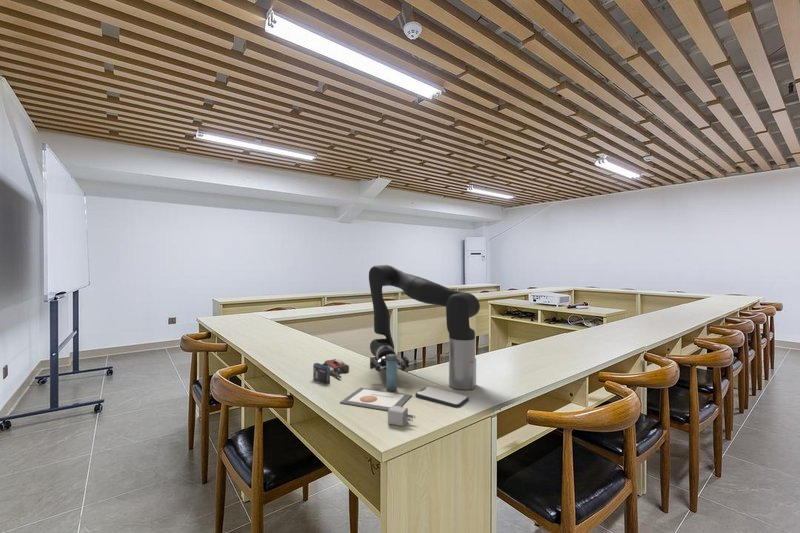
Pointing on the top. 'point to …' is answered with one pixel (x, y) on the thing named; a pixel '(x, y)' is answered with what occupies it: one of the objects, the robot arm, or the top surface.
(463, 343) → the robot arm
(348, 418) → the top surface
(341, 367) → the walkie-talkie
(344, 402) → the grey picture frame
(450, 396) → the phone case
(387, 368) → the bottle
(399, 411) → the usb wall charger
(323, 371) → the mini dv tape
